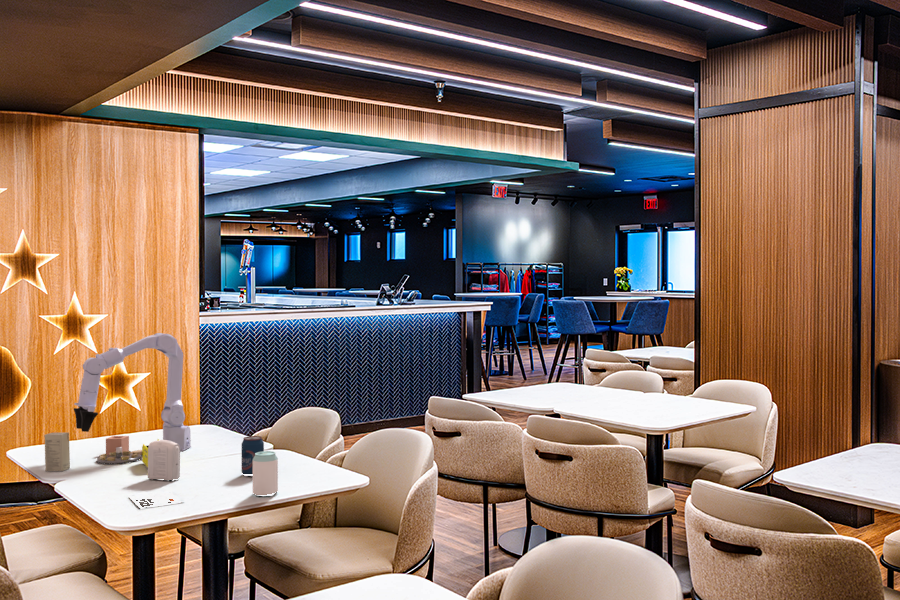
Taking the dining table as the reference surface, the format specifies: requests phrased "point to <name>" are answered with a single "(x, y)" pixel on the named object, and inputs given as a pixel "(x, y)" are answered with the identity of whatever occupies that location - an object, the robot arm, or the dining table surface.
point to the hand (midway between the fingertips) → (82, 430)
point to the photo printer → (163, 460)
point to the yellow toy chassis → (145, 455)
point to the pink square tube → (117, 443)
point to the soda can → (250, 452)
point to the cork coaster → (138, 452)
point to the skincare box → (57, 452)
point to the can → (265, 473)
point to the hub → (118, 457)
